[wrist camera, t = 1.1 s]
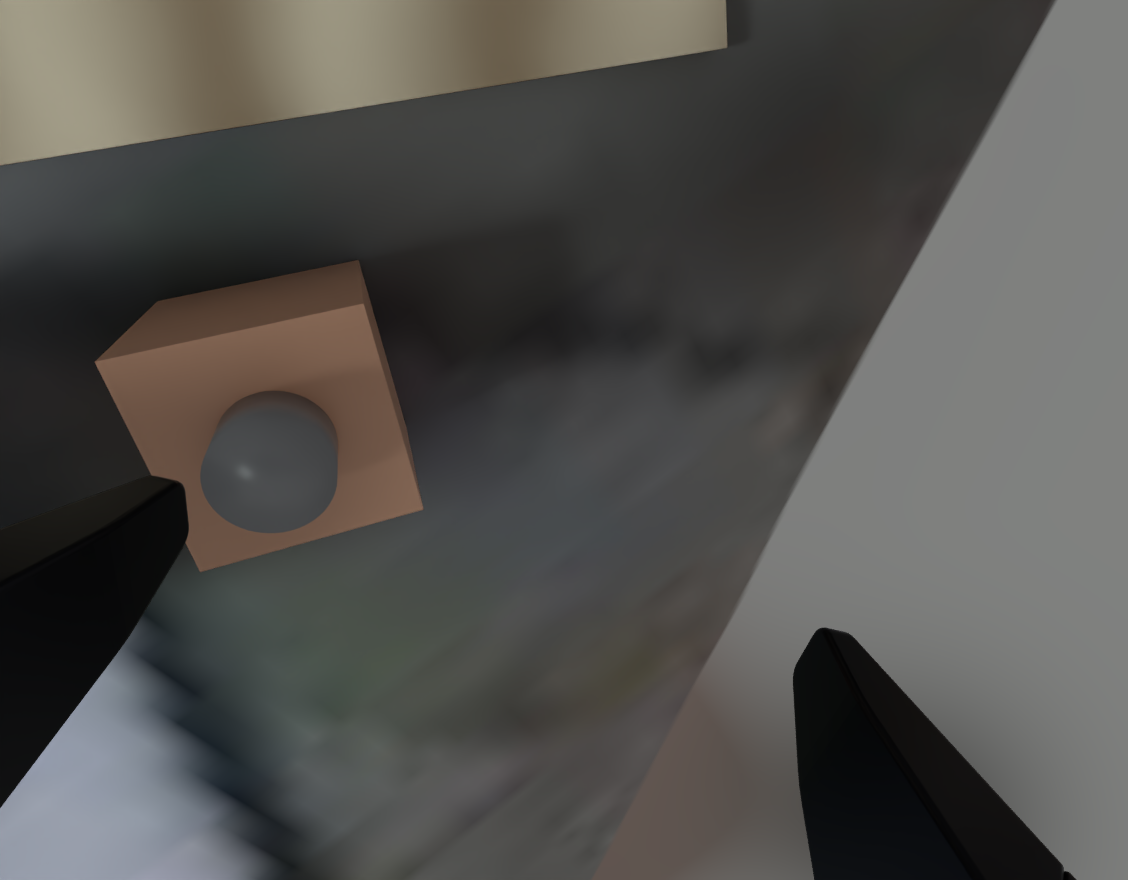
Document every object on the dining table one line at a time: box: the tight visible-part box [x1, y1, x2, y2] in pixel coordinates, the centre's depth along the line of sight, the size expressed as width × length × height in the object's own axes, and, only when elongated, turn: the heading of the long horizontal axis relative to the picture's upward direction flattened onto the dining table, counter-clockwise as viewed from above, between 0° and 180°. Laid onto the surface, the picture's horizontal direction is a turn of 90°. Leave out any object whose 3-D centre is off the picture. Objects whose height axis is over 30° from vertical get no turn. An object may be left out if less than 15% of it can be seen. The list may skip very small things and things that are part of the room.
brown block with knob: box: [95, 260, 423, 572], centre depth 16 cm, size 5×5×7 cm
